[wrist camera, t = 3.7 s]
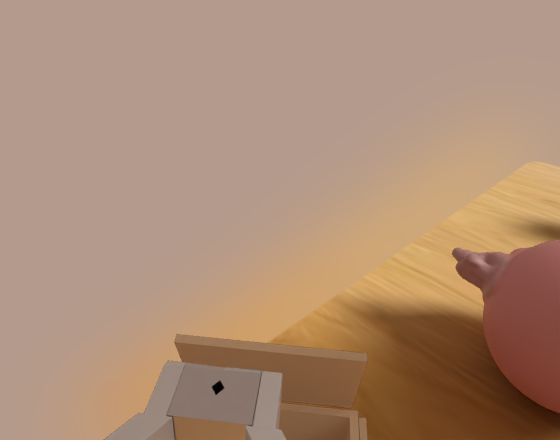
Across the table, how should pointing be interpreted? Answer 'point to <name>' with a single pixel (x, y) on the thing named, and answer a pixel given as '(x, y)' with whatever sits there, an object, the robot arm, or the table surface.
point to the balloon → (521, 315)
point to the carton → (321, 423)
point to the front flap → (285, 366)
